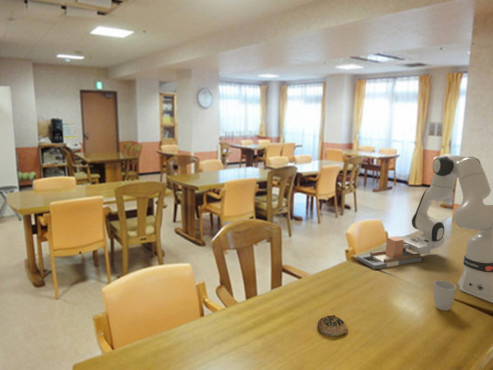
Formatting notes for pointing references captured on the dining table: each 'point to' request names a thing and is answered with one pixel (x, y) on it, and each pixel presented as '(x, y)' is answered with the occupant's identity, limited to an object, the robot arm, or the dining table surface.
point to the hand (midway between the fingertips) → (399, 246)
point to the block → (394, 247)
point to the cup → (444, 294)
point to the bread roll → (332, 326)
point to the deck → (388, 259)
